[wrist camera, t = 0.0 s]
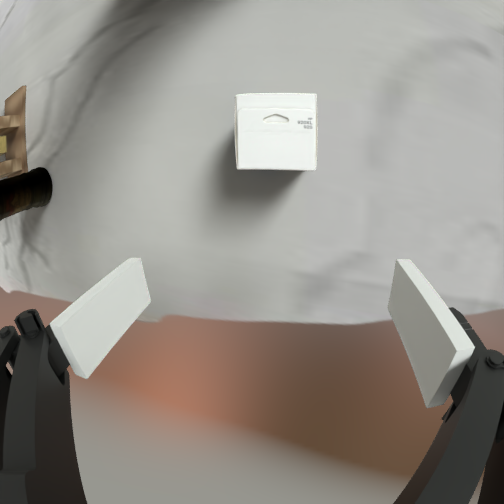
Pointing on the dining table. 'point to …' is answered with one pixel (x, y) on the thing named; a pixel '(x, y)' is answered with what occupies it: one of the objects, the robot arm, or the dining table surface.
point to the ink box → (276, 131)
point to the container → (24, 192)
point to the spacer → (3, 145)
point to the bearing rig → (14, 135)
